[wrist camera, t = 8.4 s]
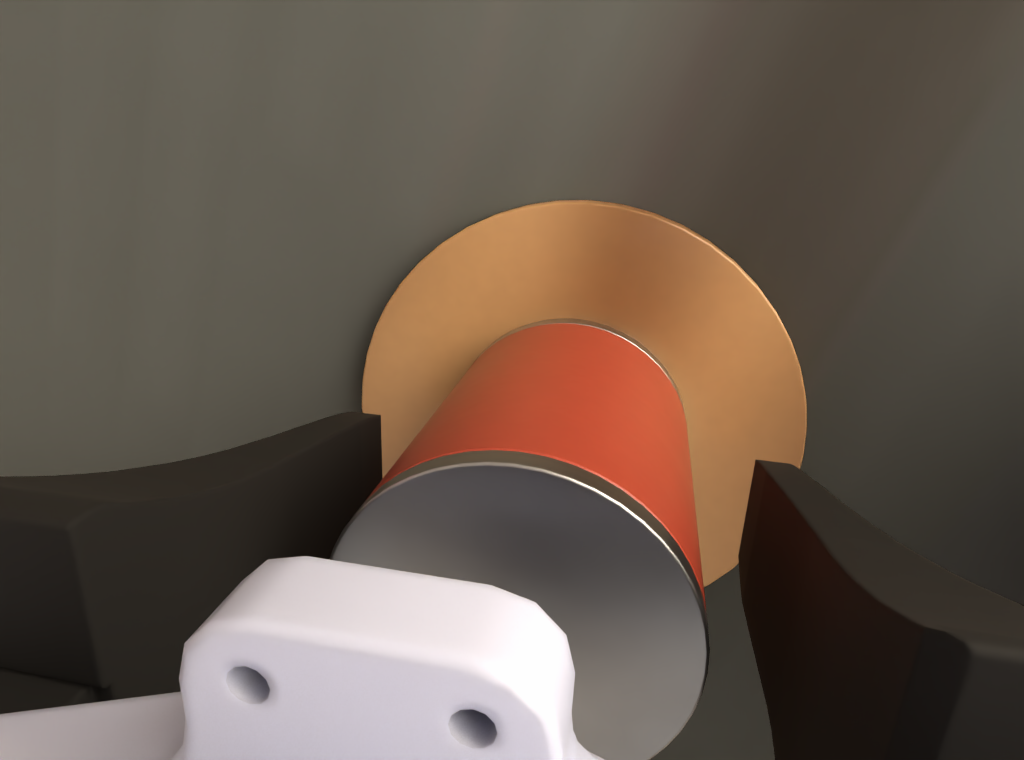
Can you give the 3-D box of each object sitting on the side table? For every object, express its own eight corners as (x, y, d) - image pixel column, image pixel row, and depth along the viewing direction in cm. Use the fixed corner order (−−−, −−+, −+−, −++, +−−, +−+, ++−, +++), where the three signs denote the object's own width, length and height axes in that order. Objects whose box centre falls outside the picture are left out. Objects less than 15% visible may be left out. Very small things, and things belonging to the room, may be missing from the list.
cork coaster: (846, 214, 14) (852, 218, 13) (761, 632, 17) (764, 645, 17) (361, 185, 15) (352, 187, 15) (374, 570, 19) (367, 581, 18)
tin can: (701, 329, 14) (739, 492, 8) (671, 544, 16) (682, 823, 10) (458, 307, 15) (310, 438, 9) (455, 514, 17) (330, 751, 10)
